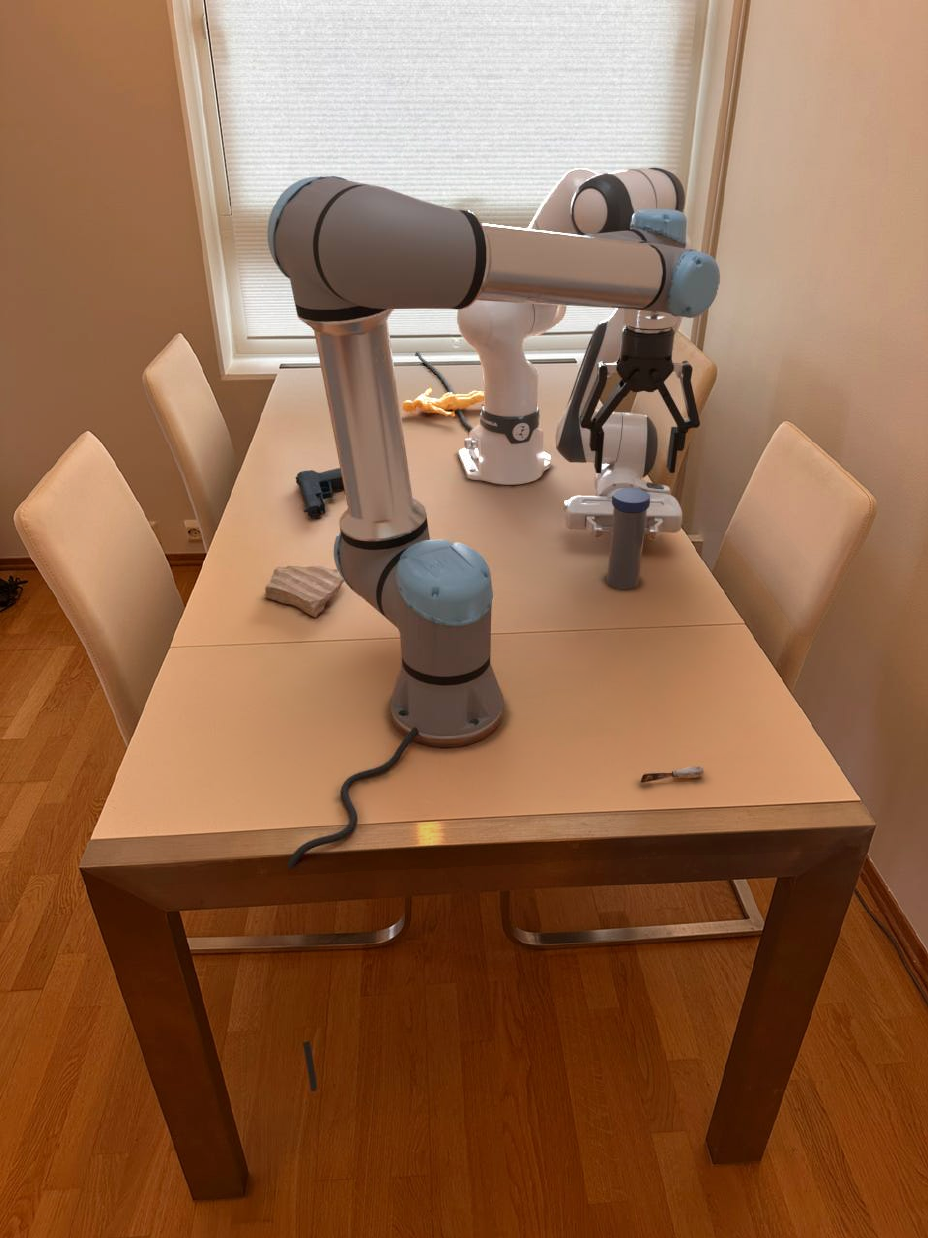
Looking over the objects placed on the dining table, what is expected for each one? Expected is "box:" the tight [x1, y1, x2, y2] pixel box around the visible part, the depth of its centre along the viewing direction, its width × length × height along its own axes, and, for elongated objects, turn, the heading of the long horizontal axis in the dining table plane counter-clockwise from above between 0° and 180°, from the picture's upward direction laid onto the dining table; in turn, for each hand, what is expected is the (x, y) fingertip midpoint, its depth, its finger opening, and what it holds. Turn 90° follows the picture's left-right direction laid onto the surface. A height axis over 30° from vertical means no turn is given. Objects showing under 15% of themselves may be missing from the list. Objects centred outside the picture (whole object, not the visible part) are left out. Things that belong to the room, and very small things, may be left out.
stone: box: [264, 565, 345, 618], centre depth 147 cm, size 13×12×3 cm
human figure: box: [402, 385, 484, 418], centre depth 225 cm, size 20×20×4 cm
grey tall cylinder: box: [606, 507, 647, 590], centre depth 147 cm, size 5×5×15 cm
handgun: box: [295, 467, 344, 519], centre depth 179 cm, size 3×18×12 cm
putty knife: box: [640, 765, 705, 784], centre depth 109 cm, size 1×8×2 cm, turn 103°
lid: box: [612, 488, 650, 513], centre depth 143 cm, size 6×6×2 cm
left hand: (634, 469), depth 140 cm, fingers open, 11 cm apart
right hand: (625, 534), depth 151 cm, fingers open, 8 cm apart
